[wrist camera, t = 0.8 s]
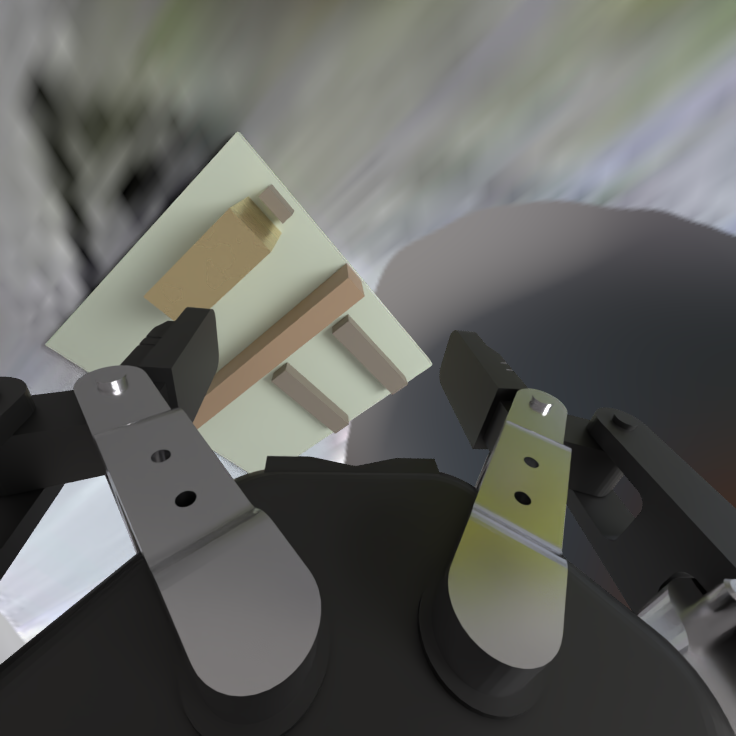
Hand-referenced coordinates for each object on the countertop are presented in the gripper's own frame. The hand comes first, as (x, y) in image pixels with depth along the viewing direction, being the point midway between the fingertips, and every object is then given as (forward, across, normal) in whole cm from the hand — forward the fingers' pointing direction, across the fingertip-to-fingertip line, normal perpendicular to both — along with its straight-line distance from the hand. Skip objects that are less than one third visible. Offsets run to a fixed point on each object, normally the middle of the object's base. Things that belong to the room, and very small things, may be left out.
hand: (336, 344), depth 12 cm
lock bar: (+20, +8, +3) cm, 22 cm away
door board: (+21, +6, +13) cm, 25 cm away
